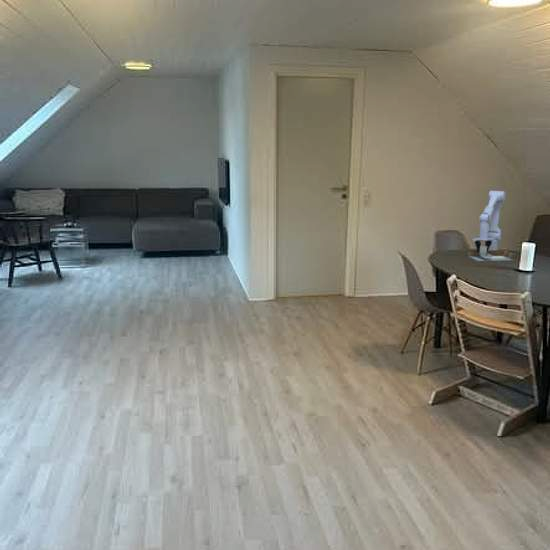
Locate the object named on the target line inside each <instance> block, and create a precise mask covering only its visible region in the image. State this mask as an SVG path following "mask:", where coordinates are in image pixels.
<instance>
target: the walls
mask: <svg viewBox="0 0 550 550" xmlns="http://www.w3.org/2000/svg"><path fill="white" fill-rule="evenodd" d="M487 253H489V254H490V255H492V256H504V257H507V258H509V259H512V260H511V261H516V258H517V255H516V254H515V253H512V252H509V251H507V250H504V249H498V250H488V252H487ZM468 256H480V255H478V252H477V250H467V257H468Z"/></svg>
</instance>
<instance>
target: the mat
mask: <svg viewBox="0 0 550 550" xmlns="http://www.w3.org/2000/svg"><path fill="white" fill-rule="evenodd" d="M467 257H469V258H471V259H472V260H475V261H478V262H482V261H483V262H488V261H489V262H493V261H513V260H512V259H509V258H507V257H504V256H492V258H483V257H481V256H467Z"/></svg>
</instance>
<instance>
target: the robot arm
mask: <svg viewBox="0 0 550 550" xmlns="http://www.w3.org/2000/svg"><path fill="white" fill-rule="evenodd" d="M488 200H489V201H488V204H487V205H485V207H484V210H483V212H482V214H480V215H479V218H478V221H479V235H478V236H479V237H476V238H472V242H474V244H475V246H476V251H477V252H480V246H482V242H484V246H487V252H488V250H499V249H498V248H499V242H501V240H502V230H501V228H500V227H499V223H500V216H501V210H502V209H501V208H502V204H504V203H505V201H506V192H505V190H490V191H489V193H488Z"/></svg>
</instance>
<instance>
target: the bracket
mask: <svg viewBox="0 0 550 550" xmlns="http://www.w3.org/2000/svg"><path fill="white" fill-rule="evenodd" d="M478 255H480V256H481V257H483V258H492V255H490V254H489V253H487V246H485V245H481V246H480V252H478Z"/></svg>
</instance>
